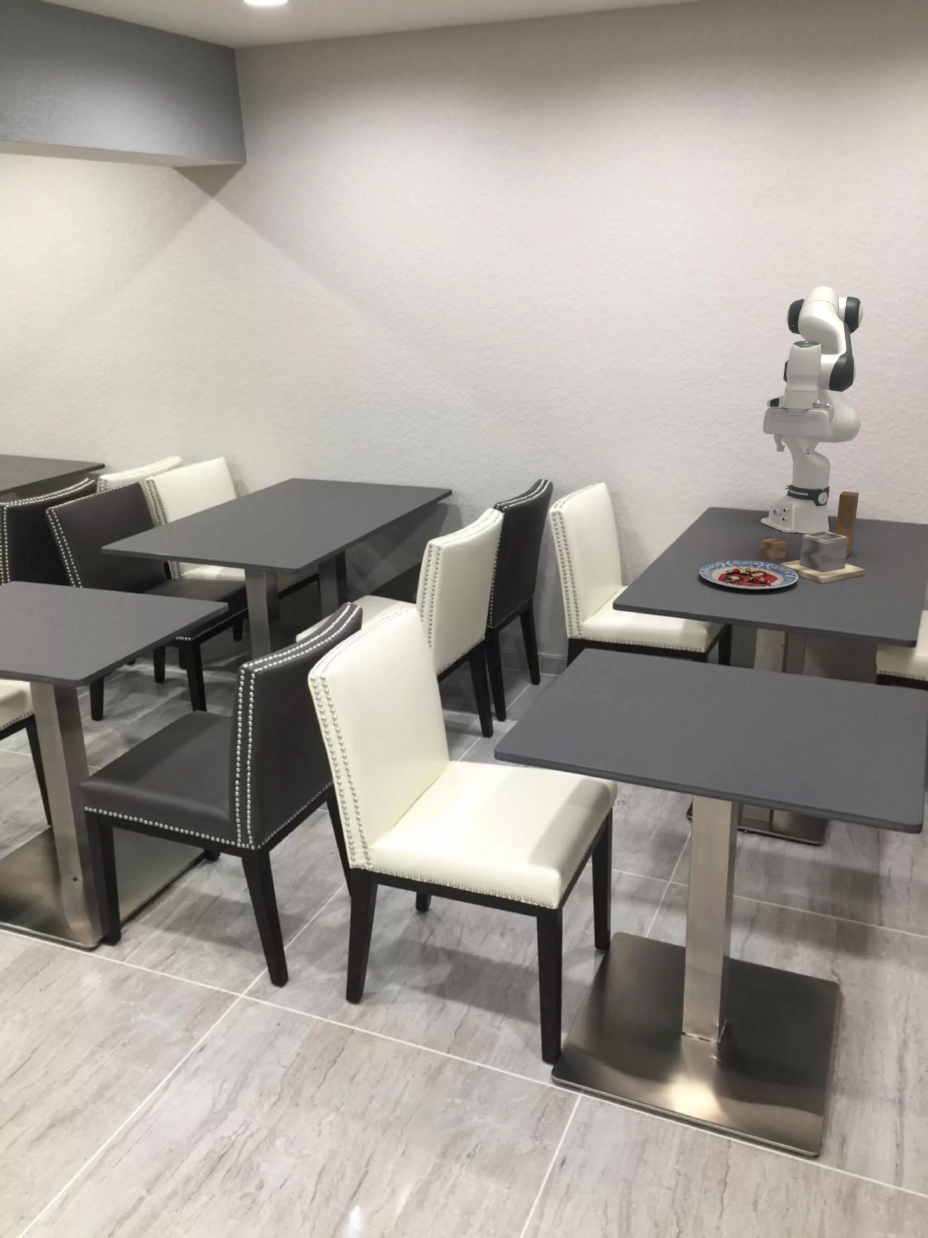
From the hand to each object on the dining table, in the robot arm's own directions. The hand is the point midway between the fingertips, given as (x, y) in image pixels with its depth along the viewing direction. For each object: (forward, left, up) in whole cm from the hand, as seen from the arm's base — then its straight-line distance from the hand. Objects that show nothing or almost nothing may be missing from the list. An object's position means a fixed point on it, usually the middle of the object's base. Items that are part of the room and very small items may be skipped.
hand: (794, 452), depth 280 cm
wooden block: (+2, +20, -32) cm, 38 cm away
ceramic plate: (+8, -21, -32) cm, 39 cm away
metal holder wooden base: (+12, +2, -32) cm, 34 cm away
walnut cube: (-6, +1, -32) cm, 32 cm away
